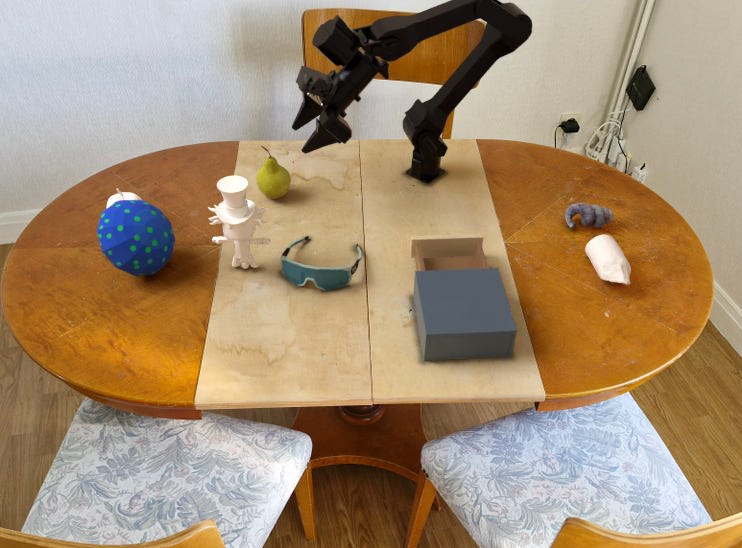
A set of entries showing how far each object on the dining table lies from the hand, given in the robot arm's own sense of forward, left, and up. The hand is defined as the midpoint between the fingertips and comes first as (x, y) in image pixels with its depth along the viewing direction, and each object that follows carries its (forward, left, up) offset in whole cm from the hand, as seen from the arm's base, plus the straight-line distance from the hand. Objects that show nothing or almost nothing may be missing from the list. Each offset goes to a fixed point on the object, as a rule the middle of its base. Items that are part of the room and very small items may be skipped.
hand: (298, 140), depth 137 cm
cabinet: (+11, +49, -12) cm, 52 cm away
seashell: (-30, +51, -12) cm, 61 cm away
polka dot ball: (+37, -5, -12) cm, 39 cm away
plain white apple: (+31, -17, -12) cm, 37 cm away
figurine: (+25, +10, -12) cm, 29 cm away
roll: (-18, +62, -12) cm, 66 cm away
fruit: (+5, -3, -12) cm, 13 cm away
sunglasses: (+15, +20, -12) cm, 28 cm away
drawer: (+2, +40, -11) cm, 42 cm away
